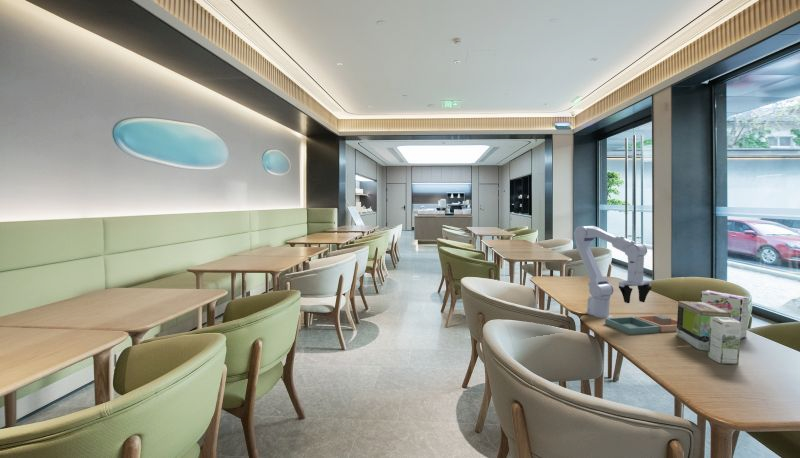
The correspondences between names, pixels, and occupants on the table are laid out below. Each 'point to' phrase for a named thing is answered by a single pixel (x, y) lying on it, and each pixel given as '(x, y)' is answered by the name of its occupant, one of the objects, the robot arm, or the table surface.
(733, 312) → the candy box
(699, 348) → the tea box
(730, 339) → the syrup box
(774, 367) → the table surface
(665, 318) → the stone block
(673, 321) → the terracotta bin
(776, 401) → the table surface
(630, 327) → the slate bin
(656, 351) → the table surface
